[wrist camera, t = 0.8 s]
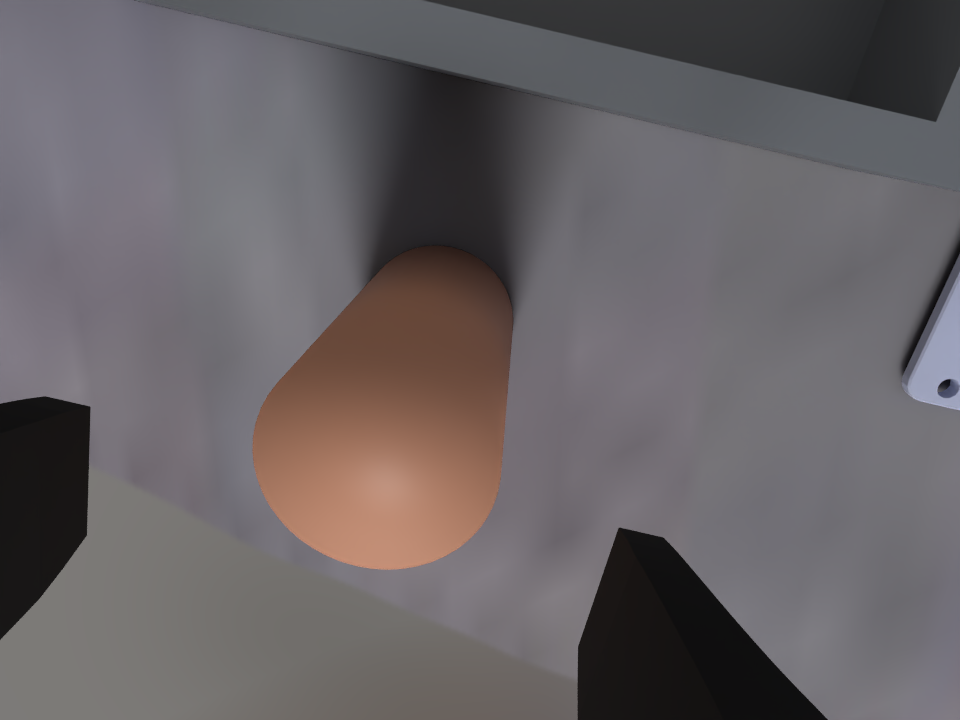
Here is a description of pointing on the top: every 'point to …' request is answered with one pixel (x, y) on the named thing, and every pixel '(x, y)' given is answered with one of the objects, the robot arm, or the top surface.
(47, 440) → the robot arm
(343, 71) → the top surface
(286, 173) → the top surface
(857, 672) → the top surface
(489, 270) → the peg
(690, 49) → the box
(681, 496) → the top surface
